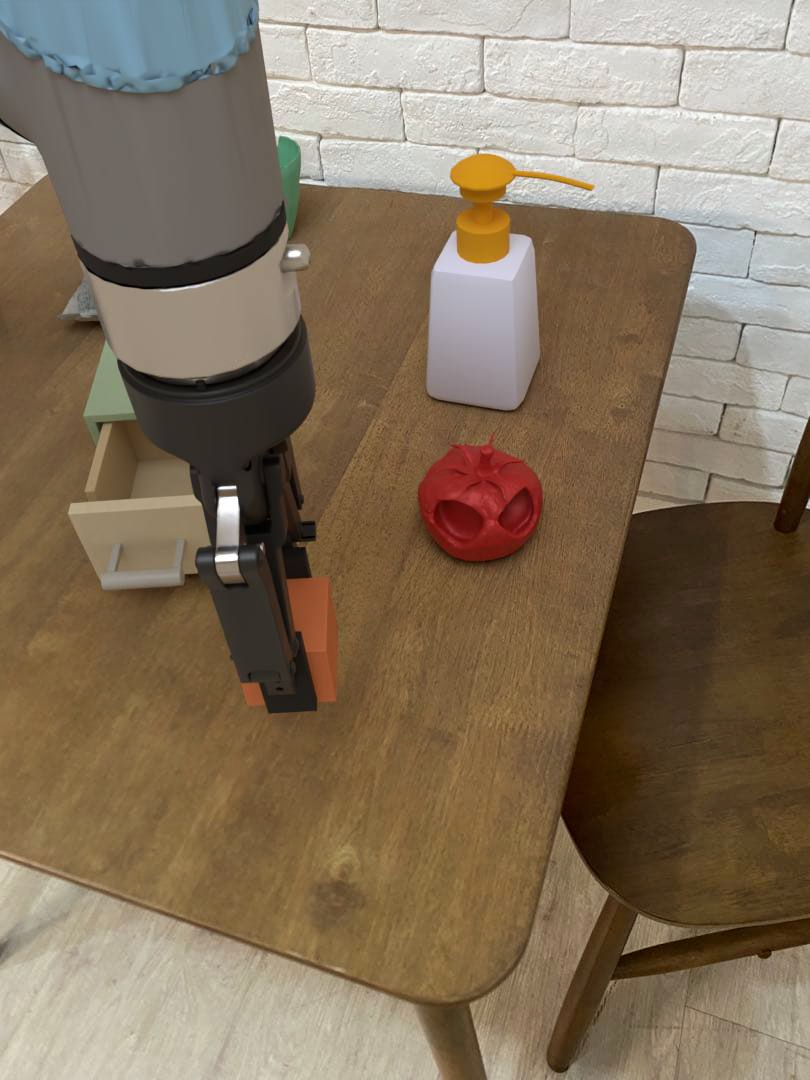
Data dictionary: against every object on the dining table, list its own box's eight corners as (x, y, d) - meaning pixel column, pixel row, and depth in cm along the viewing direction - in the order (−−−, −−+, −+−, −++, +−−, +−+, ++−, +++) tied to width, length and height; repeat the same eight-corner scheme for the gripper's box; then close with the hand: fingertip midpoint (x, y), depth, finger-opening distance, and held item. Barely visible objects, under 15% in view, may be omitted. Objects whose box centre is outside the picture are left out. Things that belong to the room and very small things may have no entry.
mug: (305, 208, 115) (292, 127, 108) (319, 248, 109) (307, 166, 101) (187, 229, 114) (166, 149, 106) (194, 272, 107) (172, 190, 100)
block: (247, 706, 53) (230, 655, 49) (254, 633, 56) (239, 581, 52) (336, 701, 52) (326, 650, 49) (338, 629, 56) (328, 576, 52)
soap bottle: (565, 426, 86) (584, 199, 69) (421, 402, 89) (407, 181, 73) (586, 363, 92) (608, 140, 75) (450, 343, 95) (443, 126, 79)
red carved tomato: (416, 493, 81) (409, 411, 74) (530, 482, 81) (534, 399, 74) (426, 581, 75) (420, 500, 68) (550, 569, 75) (557, 487, 68)
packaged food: (65, 337, 100) (49, 297, 97) (98, 275, 108) (85, 236, 104) (143, 338, 99) (131, 298, 96) (172, 276, 107) (161, 236, 104)
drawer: (221, 613, 73) (198, 547, 67) (89, 621, 73) (54, 556, 67) (240, 457, 85) (222, 389, 79) (126, 465, 85) (100, 398, 79)
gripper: (293, 487, 31) (360, 806, 48) (312, 204, 42) (360, 542, 60) (65, 502, 31) (214, 814, 48) (148, 216, 43) (243, 549, 60)
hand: (295, 663), depth 54 cm, fingers closed on block, 5 cm apart
